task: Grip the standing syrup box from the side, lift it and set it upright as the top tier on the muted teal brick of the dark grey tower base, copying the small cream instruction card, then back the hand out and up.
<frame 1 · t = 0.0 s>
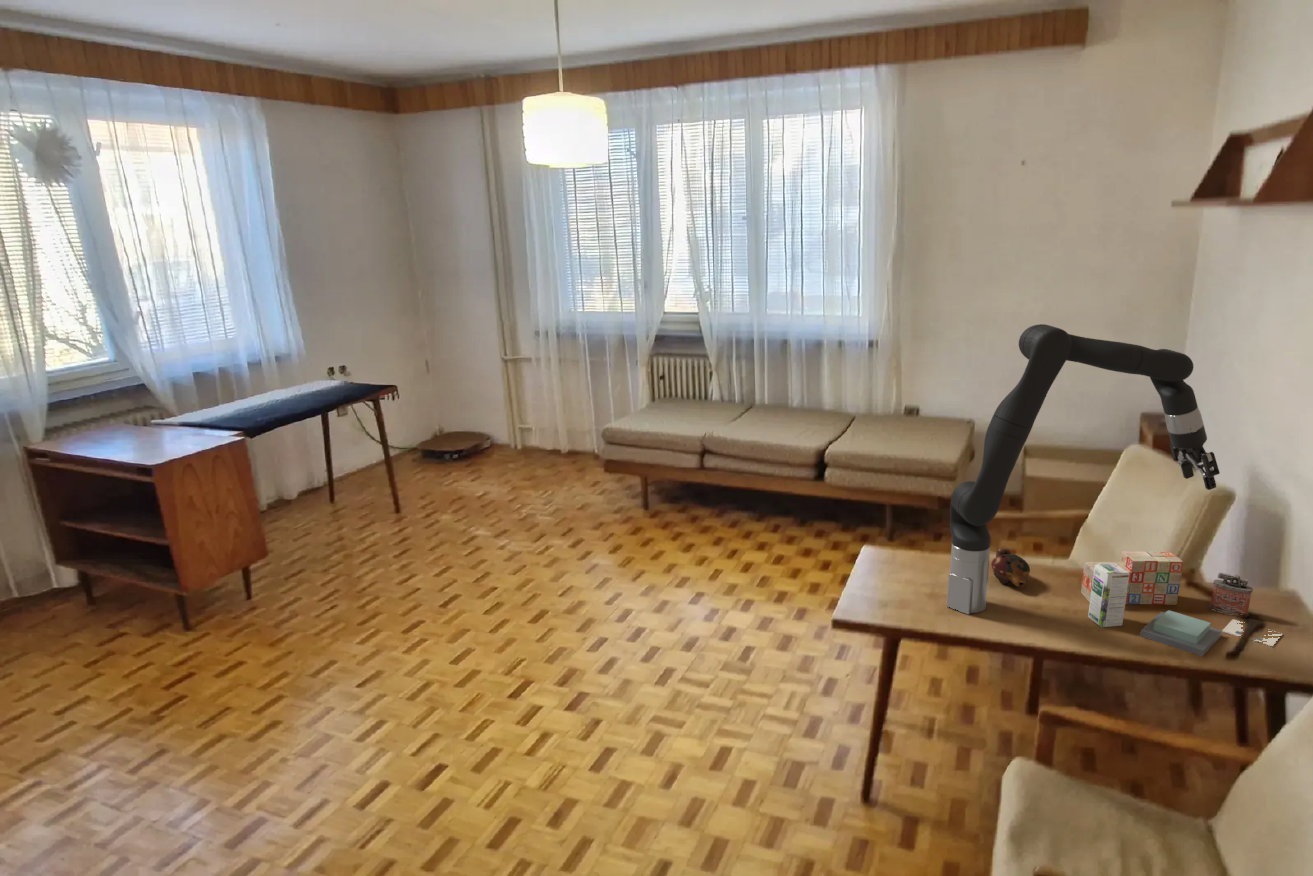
hand: (1200, 482, 203), 31 cm above the table, tool tilted 20°, fingers open, 8 cm apart
decorative turtle: (1009, 582, 224), on the table
syrup box: (1105, 622, 201), on the table
instruction card: (1252, 633, 193), on the table
lighter: (1228, 612, 203), on the table
tower base: (1180, 636, 193), on the table
stack of blocks: (1127, 599, 212), on the table
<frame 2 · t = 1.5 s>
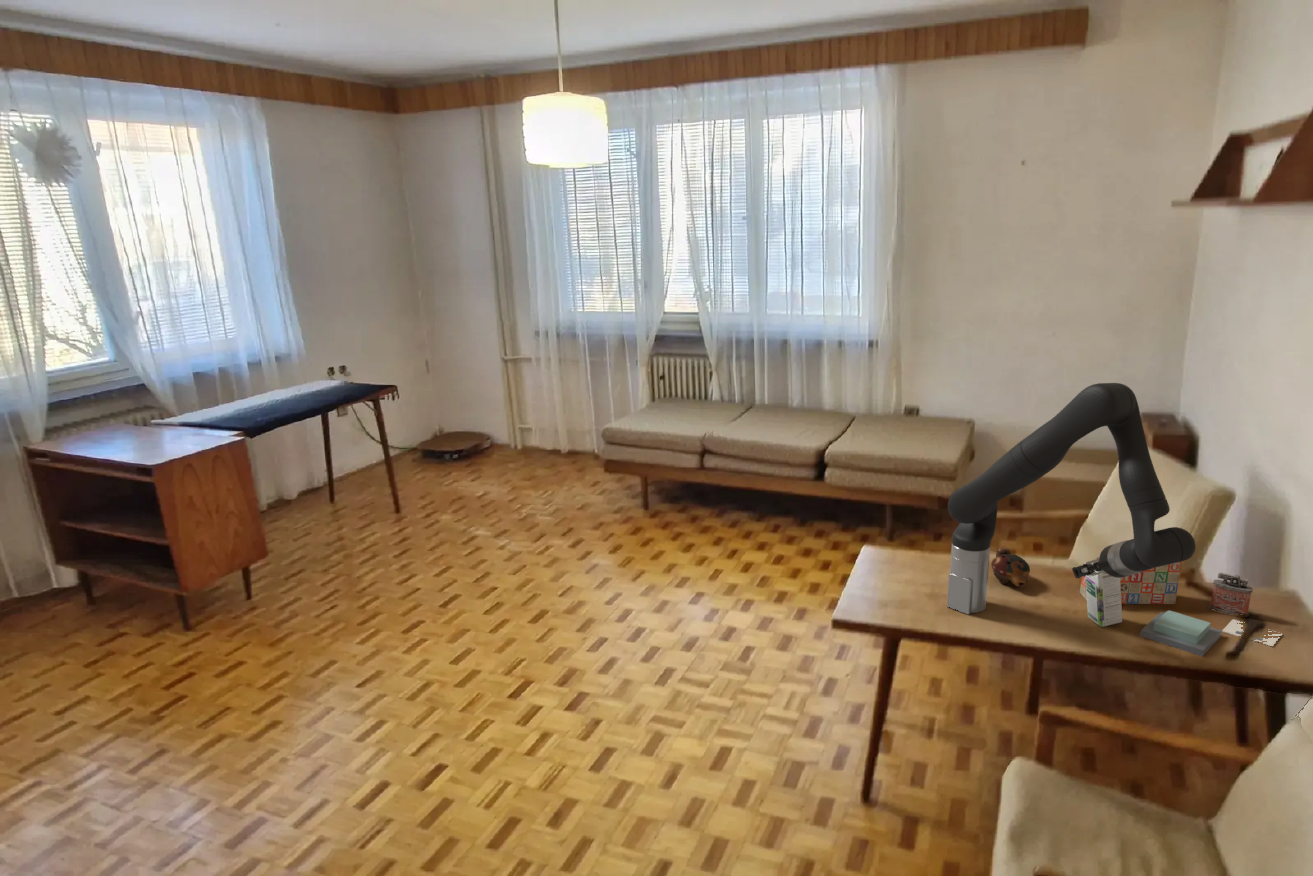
hand: (1093, 568, 196), 15 cm above the table, tool tilted 55°, fingers open, 8 cm apart
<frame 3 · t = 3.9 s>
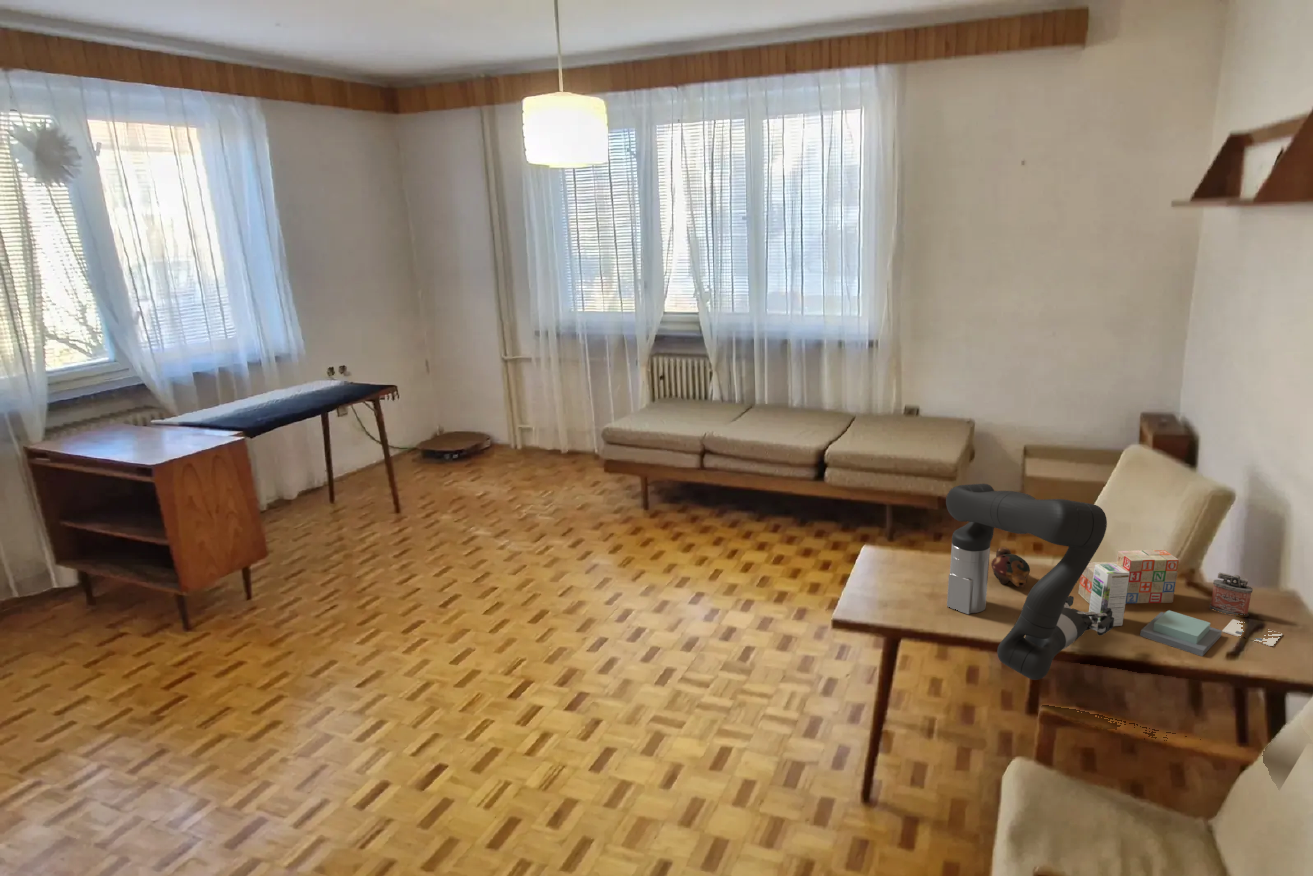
hand: (1090, 605, 192), 8 cm above the table, tool horizontal, fingers open, 8 cm apart
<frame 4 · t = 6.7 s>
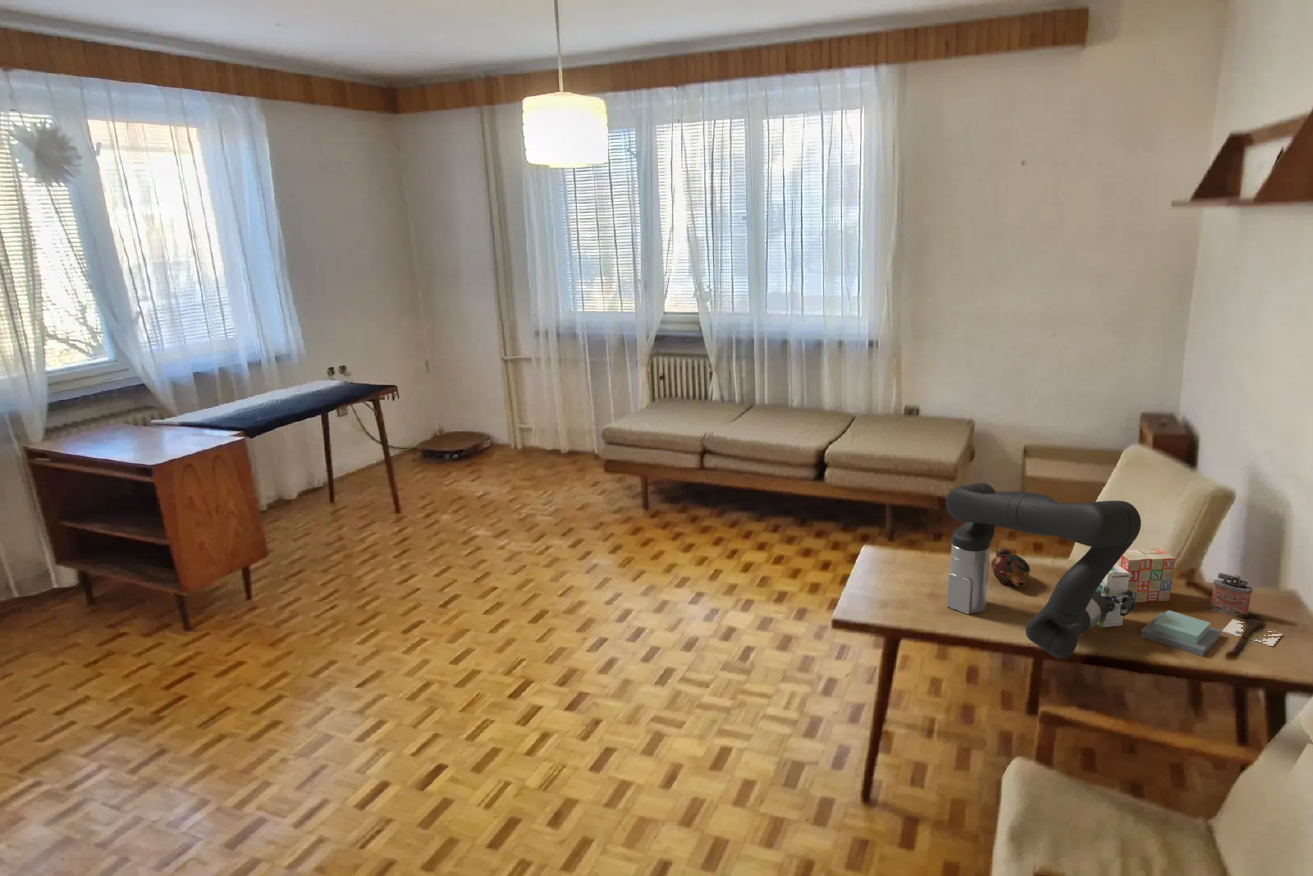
hand: (1112, 588, 200), 8 cm above the table, tool horizontal, fingers closed on syrup box, 7 cm apart
syrup box: (1105, 622, 201), on the table, touching gripper
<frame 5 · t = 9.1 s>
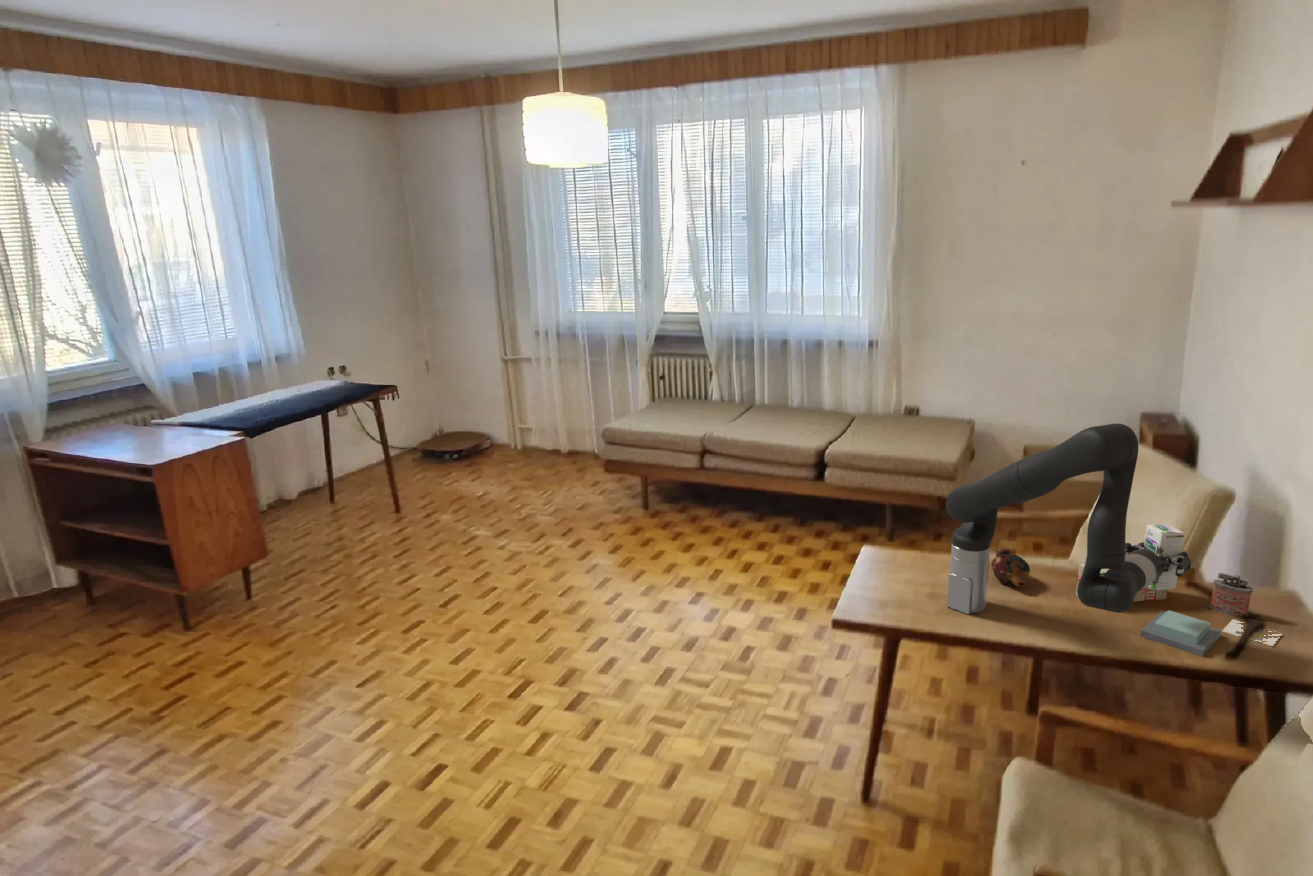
hand: (1165, 550, 191), 21 cm above the table, tool horizontal, fingers closed on syrup box, 7 cm apart
syrup box: (1156, 585, 192), point 12 cm above the table, touching gripper
when the fingers open (13 cm above the table, at t = 11.7 s): syrup box drops 1 cm, resting on tower base.
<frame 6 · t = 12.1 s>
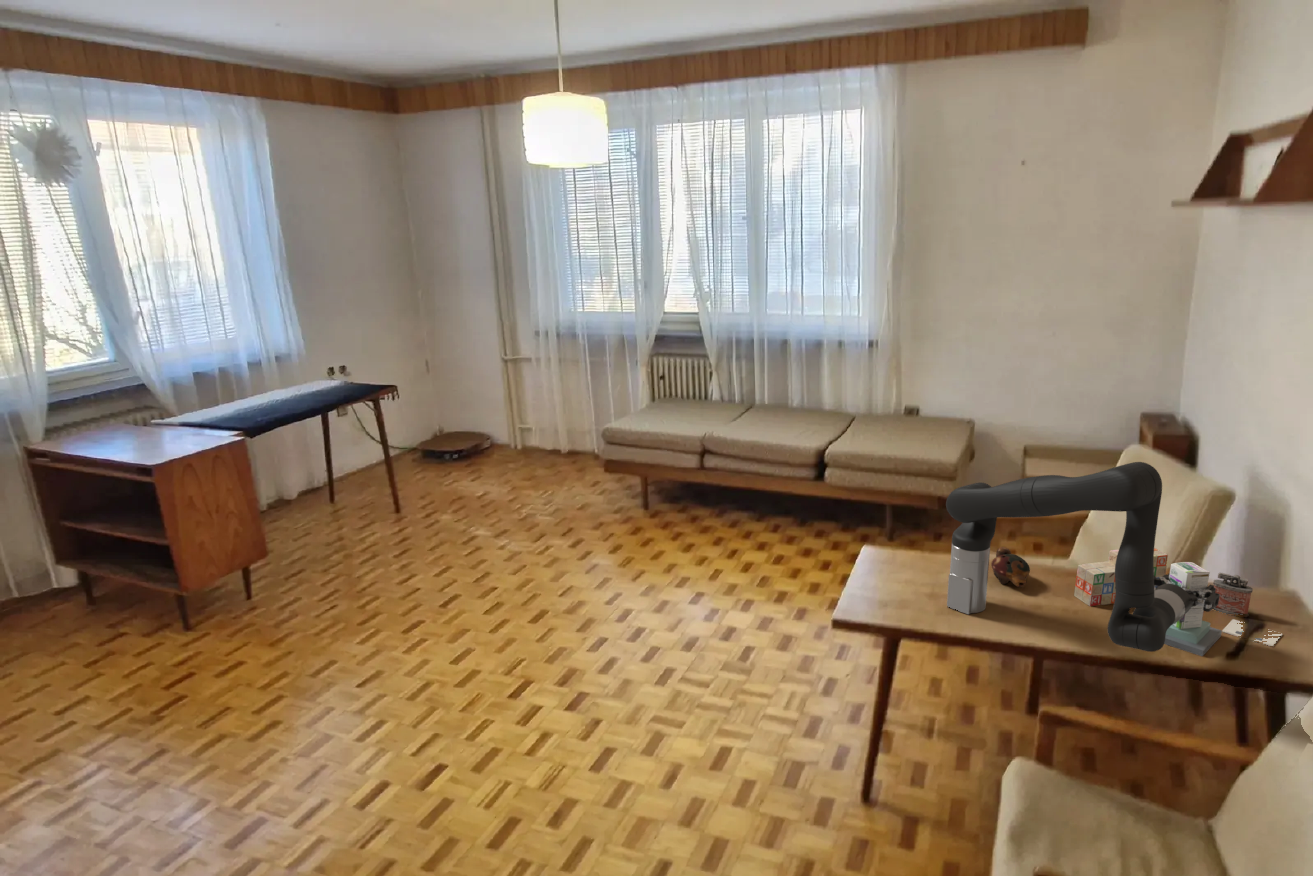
hand: (1190, 582, 190), 13 cm above the table, tool horizontal, fingers open, 8 cm apart
syrup box: (1181, 623, 192), point 3 cm above the table, touching tower base
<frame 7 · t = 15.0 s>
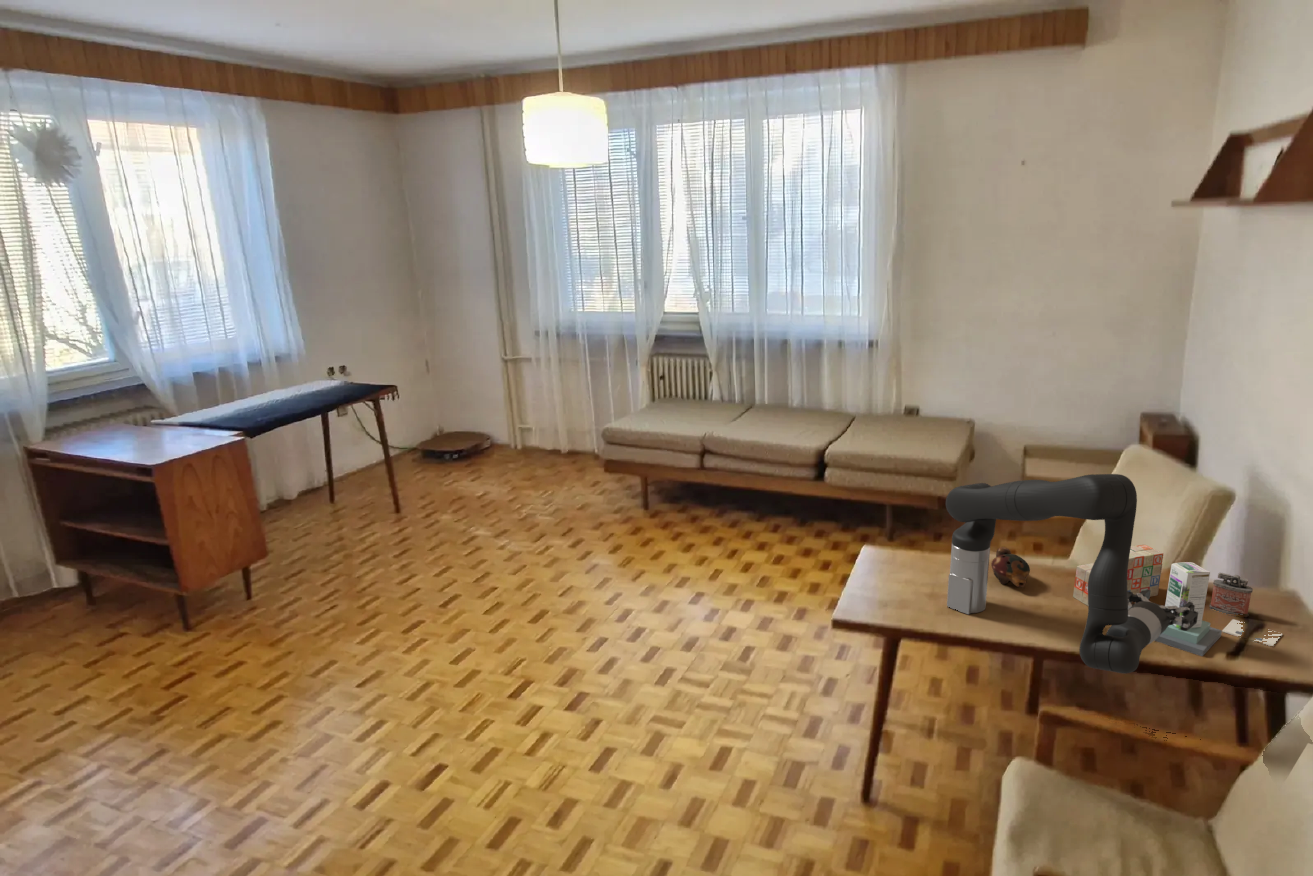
hand: (1169, 599, 183), 13 cm above the table, tool horizontal, fingers open, 8 cm apart
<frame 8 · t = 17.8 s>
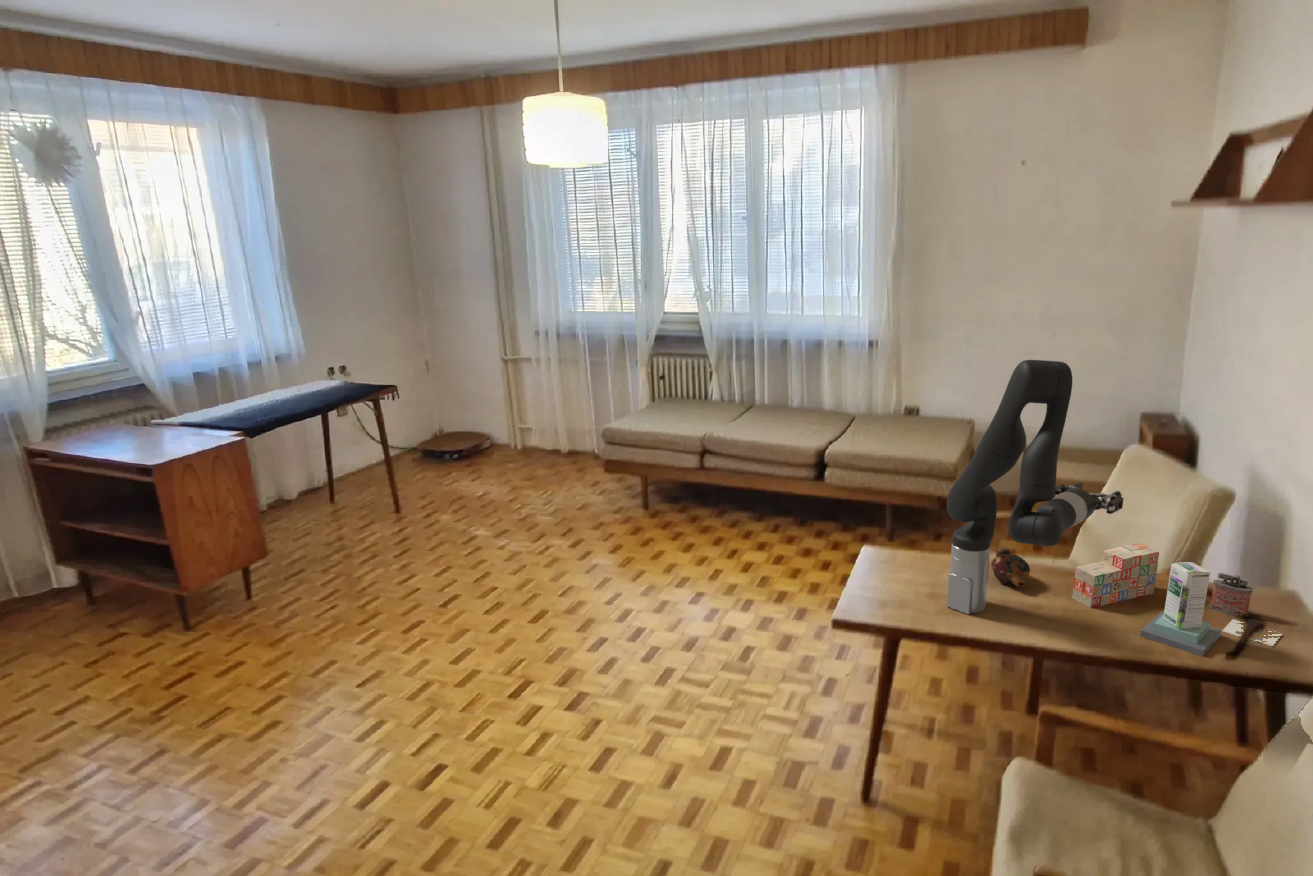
hand: (1099, 490, 193), 34 cm above the table, tool horizontal, fingers open, 8 cm apart
at the end: syrup box 0.2 cm off-centre on the tower base, point 3.3 cm above the tower base's base; syrup box tilted 0°; the gripper is holding nothing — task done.
